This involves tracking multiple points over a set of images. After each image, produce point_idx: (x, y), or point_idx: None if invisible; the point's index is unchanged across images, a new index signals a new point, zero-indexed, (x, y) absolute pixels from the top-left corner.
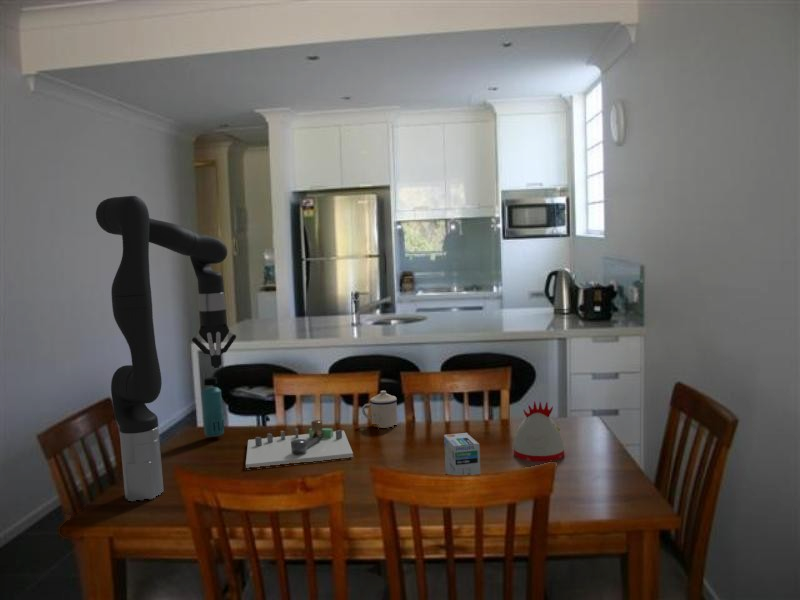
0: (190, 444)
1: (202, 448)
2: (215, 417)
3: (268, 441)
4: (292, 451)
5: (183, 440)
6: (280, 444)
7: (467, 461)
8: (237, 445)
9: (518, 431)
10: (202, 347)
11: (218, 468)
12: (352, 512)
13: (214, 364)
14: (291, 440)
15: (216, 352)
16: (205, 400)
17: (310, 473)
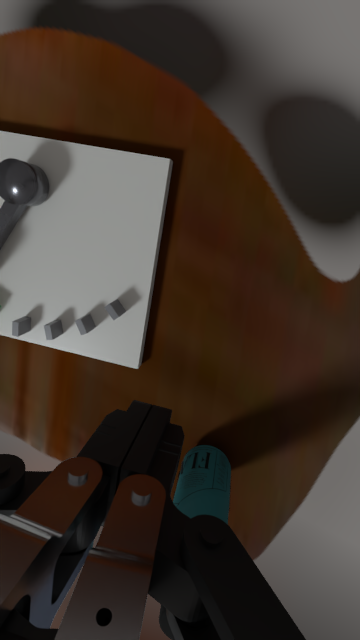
0: (270, 444)
1: (248, 397)
2: (198, 477)
3: (93, 323)
4: (44, 177)
5: (281, 484)
6: (69, 286)
7: None
8: (166, 372)
9: None
10: (247, 620)
11: (236, 210)
12: None
13: (158, 420)
14: (42, 304)
15: (92, 486)
16: None
17: (28, 45)
